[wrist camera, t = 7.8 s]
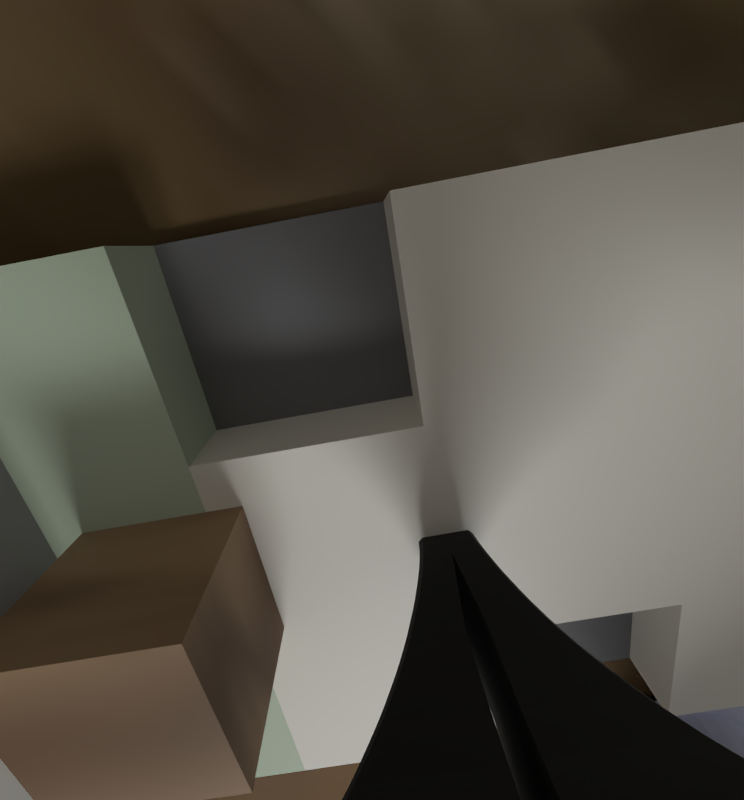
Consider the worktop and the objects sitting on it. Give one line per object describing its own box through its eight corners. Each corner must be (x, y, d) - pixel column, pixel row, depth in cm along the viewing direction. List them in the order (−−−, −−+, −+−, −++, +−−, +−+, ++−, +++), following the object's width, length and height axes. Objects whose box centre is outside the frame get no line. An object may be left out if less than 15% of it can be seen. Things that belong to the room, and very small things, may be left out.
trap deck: (928, 604, 16) (1125, 729, 12) (196, 716, 17) (144, 867, 13) (1152, 54, 10) (1725, -84, 6) (-23, 280, 11) (-258, 302, 7)
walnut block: (284, 627, 12) (251, 792, 9) (142, 649, 13) (50, 822, 9) (242, 506, 11) (181, 643, 7) (82, 533, 11) (-62, 681, 7)
